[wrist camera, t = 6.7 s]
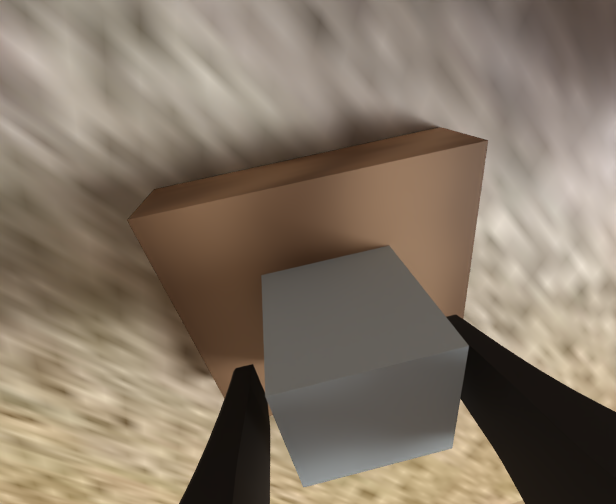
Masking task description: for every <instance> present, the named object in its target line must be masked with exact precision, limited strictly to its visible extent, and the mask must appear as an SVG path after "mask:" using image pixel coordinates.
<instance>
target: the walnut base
mask: <svg viewBox="0 0 616 504" xmlns="http://www.w3.org/2000/svg"><path fill="white" fill-rule="evenodd" d="M487 144H488V140H484V139H481V138H477V137H474V136H470V135H467V134H463V133H459V132H456V131H452V130H449V129H445V128H441V127H439V128H434V129H430V130H425V131H420V132H416V133H411V134H407V135H402V136H397V137H393V138H388V139H384V140H379V141H374V142H370V143H365V144H361V145H356V146H351V147H347V148H342V149H338V150H333V151H328V152H324V153H319V154H315V155H310V156H305V157H301V158H296V159H292V160H287V161H282V162H278V163H273V164H269V165H264V166H259V167H255V168H250V169H246V170H241V171H236V172H232V173H227V174H223V175H218V176H213V177H209V178H204V179H200V180H195V181H190V182H186V183H181V184H177V185H172V186H167V187H163V188H158V189H154V190H153V191H152V192H151V194H150V195H149V196H148V197H147V198H146V199H145V200H144V201H143V203H142V204H141V205H140V206H139V207H138V208H137V209H136V211H135V212H134V213H133V214H132V215H131V216H130V217H129V218H128V220H127V221H128V223H129V225H130V227H131V228H132V230H133V232H134V234H135V236H136V238H137V239H138V241H139V243H140V245H141V247H142V249H143V250H144V252H145V254H146V256H147V258H148V259H149V261H150V263H151V265H152V267H153V269H154V270H155V272H156V274H157V276H158V278H159V280H160V281H161V283H162V285H163V287H164V289H165V291H166V292H167V294H168V296H169V298H170V300H171V302H172V303H173V305H174V307H175V309H176V311H177V313H178V314H179V316H180V318H181V320H182V322H183V324H184V325H185V327H186V329H187V331H188V333H189V334H190V336H191V338H192V340H193V342H194V344H195V345H196V347H197V349H198V351H199V353H200V355H201V356H202V358H203V360H204V362H205V364H206V366H207V367H208V369H209V371H210V373H211V375H212V377H213V378H214V380H215V382H216V384H217V386H218V388H219V389H220V391H221V393H222V395H223V397H224V399H225V396H226V393H227V390H228V387H229V384H230V381H231V378H232V375H233V371H234V370H235V369H236V368H238V367H242V366H247V365H251V364H253V365H254V368H255V370H256V372H257V375H258V377H259V380H260V382H261V384H262V387H263V389H264V392H265V371H264V340H263V310H262V280H261V275H265V274H269V273H273V272H277V271H282V270H286V269H290V268H295V267H299V266H303V265H308V264H312V263H316V262H320V261H325V260H329V259H333V258H338V257H342V256H346V255H351V254H355V253H359V252H363V251H368V250H372V249H376V248H381V247H385V246H390V247H391V248H392V249H393V251H394V252H395V253H396V254H397V256H398V257H399V258H400V260H401V261H402V262H403V263H404V265H405V266H406V267H407V268H408V270H409V271H410V272H411V273H412V275H413V276H414V277H415V278H416V280H417V281H418V282H419V284H420V285H421V286H422V287H423V289H424V290H425V291H426V292H427V294H428V295H429V296H430V297H431V299H432V300H433V301H434V302H435V304H436V305H437V306H438V308H439V309H440V310H441V311H442V313H443V314H444V315H445V316H446V317H447V316H451V315H455V314H456V315H458V316H459V317H461V318H462V319H463V316H464V309H465V302H466V295H467V288H468V280H469V273H470V266H471V259H472V252H473V244H474V237H475V230H476V223H477V216H478V209H479V201H480V194H481V187H482V180H483V173H484V166H485V158H486V151H487ZM268 410H269V416H271V415H273V414H272V411H271V409H270V407H269V404H268Z"/></svg>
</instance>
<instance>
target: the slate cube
mask: <svg viewBox="0 0 616 504" xmlns="http://www.w3.org/2000/svg"><path fill="white" fill-rule="evenodd" d="M261 280H262V310H263V340H264V371H265V397H266V399H267V402H268V404H269V407H270V409H271V411H272V414H273V416H274V418H275V421H276V423H277V426H278V428H279V430H280V433H281V435H282V437H283V440H284V442H285V445H286V447H287V449H288V452H289V454H290V456H291V459H292V461H293V464H294V466H295V468H296V471H297V473H298V475H299V478H300V480H301V483H302V485H303V487H307V486H311V485H315V484H319V483H322V482H326V481H330V480H334V479H337V478H341V477H345V476H349V475H353V474H356V473H360V472H364V471H368V470H372V469H375V468H379V467H383V466H387V465H391V464H394V463H398V462H402V461H406V460H410V459H413V458H417V457H421V456H425V455H429V454H432V453H436V452H440V451H444V450H448V449H451V448H452V446H453V440H454V434H455V428H456V422H457V416H458V410H459V403H460V397H461V391H462V385H463V379H464V373H465V367H466V361H467V355H468V349H469V345H468V344H467V343H466V342H465V340H464V339H463V338H462V337H461V335H460V334H459V333H458V332H457V330H456V329H455V328H454V326H453V325H452V324H451V323H450V321H449V320H448V319H447V318H446V316H445V315H444V314H443V313H442V311H441V310H440V309H439V308H438V306H437V305H436V304H435V302H434V301H433V300H432V299H431V297H430V296H429V295H428V294H427V292H426V291H425V290H424V289H423V287H422V286H421V285H420V284H419V282H418V281H417V280H416V278H415V277H414V276H413V275H412V273H411V272H410V271H409V270H408V268H407V267H406V266H405V265H404V263H403V262H402V261H401V260H400V258H399V257H398V256H397V254H396V253H395V252H394V251H393V249H392V248H391V247H390V246H385V247H381V248H376V249H372V250H368V251H363V252H359V253H355V254H351V255H346V256H342V257H338V258H333V259H329V260H325V261H320V262H316V263H312V264H308V265H303V266H299V267H295V268H290V269H286V270H282V271H277V272H273V273H269V274H265V275H261Z"/></svg>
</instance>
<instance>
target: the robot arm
mask: <svg viewBox="0 0 616 504" xmlns="http://www.w3.org/2000/svg"><path fill="white" fill-rule="evenodd" d="M446 318H447V319H448V320H449V321H450V323H451V324H452V325H453V326H454V328H455V329H456V330H457V332H458V333H459V334H460V335H461V337H462V338H463V339H464V340H465V342H466V343H467V344H468V345H469V349H468V355H467V361H466V367H465V373H464V379H463V385H462V391H461V397H460V399H461V400H462V402H463V403H464V405H465V406H466V408H467V409H468V411H469V412H470V414H471V415H472V417H473V418H474V420H475V421H476V423H477V424H478V426H479V427H480V429H481V430H482V431H483V433H484V434H485V436H486V437H487V439H488V440H489V442H490V443H491V445H492V446H493V448H494V450H495V451H496V453H497V454H498V456H499V458H500V459H501V461H502V463H503V464H504V466H505V468H506V470H507V472H508V473H509V475H510V477H511V479H512V481H513V482H514V484H515V486H516V488H517V490H518V491H519V493H520V495H521V497H522V499H523V501H524V502H525V504H616V412H615V411H613V410H611V409H609V408H607V407H605V406H603V405H601V404H599V403H597V402H595V401H593V400H592V399H590V398H588V397H586V396H584V395H582V394H580V393H578V392H576V391H575V390H573V389H571V388H569V387H568V386H566V385H564V384H562V383H561V382H559V381H557V380H555V379H554V378H552V377H550V376H549V375H547V374H545V373H544V372H542V371H540V370H539V369H537V368H535V367H534V366H532V365H531V364H529V363H527V362H526V361H524V360H523V359H521V358H520V357H518V356H517V355H515V354H514V353H512V352H510V351H509V350H507V349H506V348H504V347H503V346H501V345H500V344H498V343H497V342H495V341H494V340H493V339H491V338H490V337H488V336H487V335H485V334H484V333H482V332H481V331H479V330H478V329H477V328H475V327H474V326H472V325H471V324H469V323H468V322H466V321H465V320H464V319H462V318H461V317H459V316H458V315H456V314H455V315H451V316H447V317H446ZM179 504H270V421H269V410H268V402H267V399H266V397H265V392H264V389H263V387H262V384H261V382H260V380H259V377H258V375H257V372H256V370H255V368H254V365H253V364H251V365H247V366H242V367H238V368H236V369H235V370H234V371H233V375H232V378H231V381H230V384H229V387H228V390H227V393H226V396H225V399H224V402H223V405H222V407H221V410H220V413H219V415H218V418H217V421H216V423H215V426H214V428H213V431H212V433H211V436H210V438H209V441H208V443H207V445H206V448H205V450H204V452H203V454H202V457H201V459H200V461H199V463H198V466H197V468H196V470H195V472H194V474H193V477H192V479H191V481H190V483H189V485H188V487H187V489H186V491H185V493H184V495H183V497H182V499H181V501H180V503H179Z"/></svg>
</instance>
